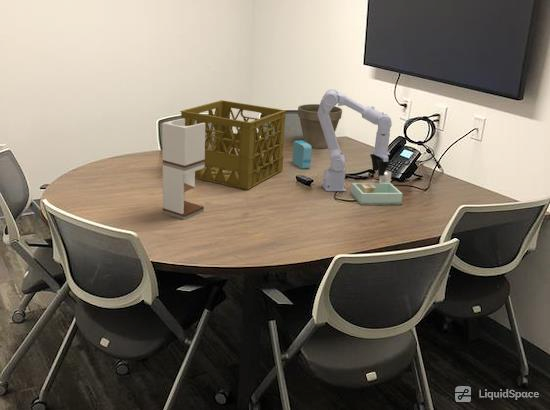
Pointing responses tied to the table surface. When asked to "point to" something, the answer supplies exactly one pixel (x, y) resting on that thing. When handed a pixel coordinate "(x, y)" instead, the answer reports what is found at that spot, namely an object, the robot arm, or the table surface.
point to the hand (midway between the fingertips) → (378, 172)
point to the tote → (377, 194)
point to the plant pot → (316, 124)
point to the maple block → (368, 188)
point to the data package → (301, 154)
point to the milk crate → (239, 143)
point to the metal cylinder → (385, 177)
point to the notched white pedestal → (181, 166)
